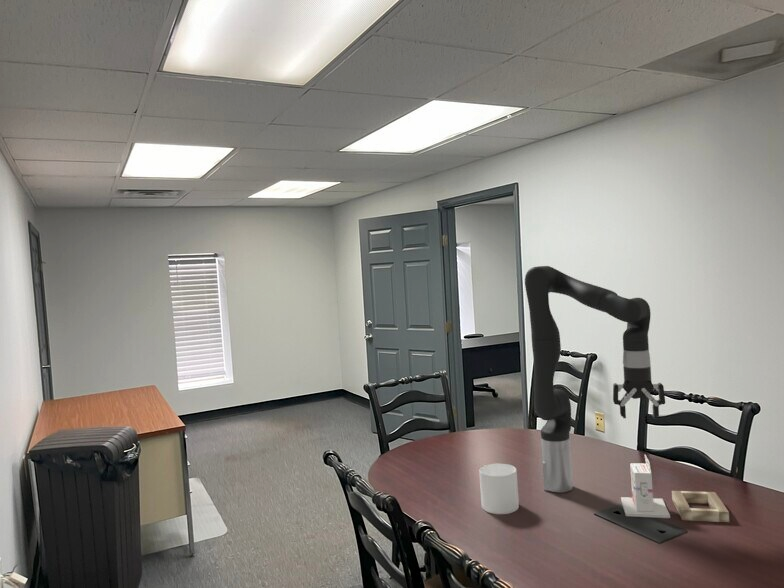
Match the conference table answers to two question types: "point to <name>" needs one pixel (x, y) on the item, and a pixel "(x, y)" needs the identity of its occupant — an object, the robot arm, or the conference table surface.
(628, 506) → the pad
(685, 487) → the conference table surface
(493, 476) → the cup
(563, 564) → the conference table surface
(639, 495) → the ink cartridge box
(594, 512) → the conference table surface
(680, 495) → the frame
